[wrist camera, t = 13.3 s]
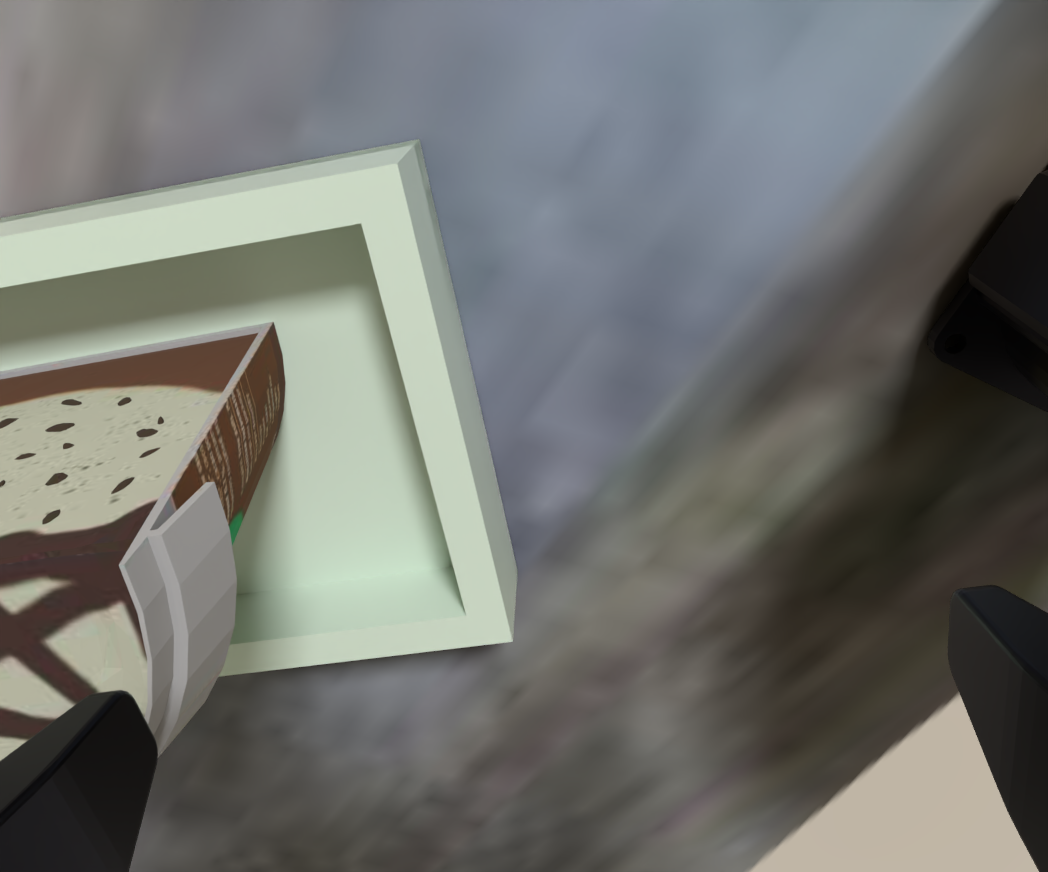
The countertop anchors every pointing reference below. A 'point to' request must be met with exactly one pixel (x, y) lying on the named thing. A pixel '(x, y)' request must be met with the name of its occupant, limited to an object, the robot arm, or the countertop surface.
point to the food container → (128, 522)
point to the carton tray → (304, 389)
